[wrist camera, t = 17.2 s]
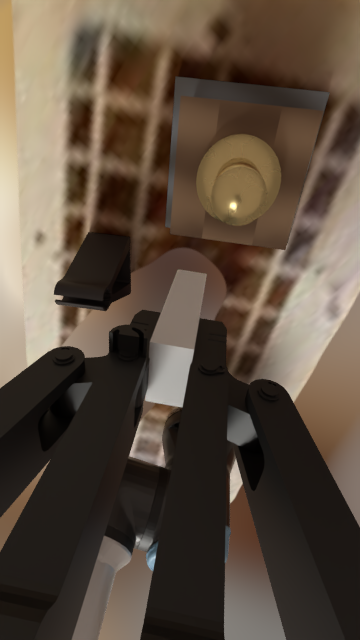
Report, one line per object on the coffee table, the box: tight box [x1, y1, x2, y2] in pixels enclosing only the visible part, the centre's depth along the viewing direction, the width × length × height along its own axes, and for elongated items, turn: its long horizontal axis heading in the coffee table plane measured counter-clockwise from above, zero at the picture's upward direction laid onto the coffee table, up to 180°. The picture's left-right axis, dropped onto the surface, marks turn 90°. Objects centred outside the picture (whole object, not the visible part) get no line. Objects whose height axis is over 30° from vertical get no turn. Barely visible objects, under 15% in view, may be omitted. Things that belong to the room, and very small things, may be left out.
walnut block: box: [165, 77, 330, 250], centre depth 35 cm, size 16×16×10 cm
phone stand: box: [54, 232, 131, 311], centre depth 43 cm, size 9×6×12 cm, turn 176°
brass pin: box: [196, 134, 281, 226], centre depth 30 cm, size 8×8×16 cm
